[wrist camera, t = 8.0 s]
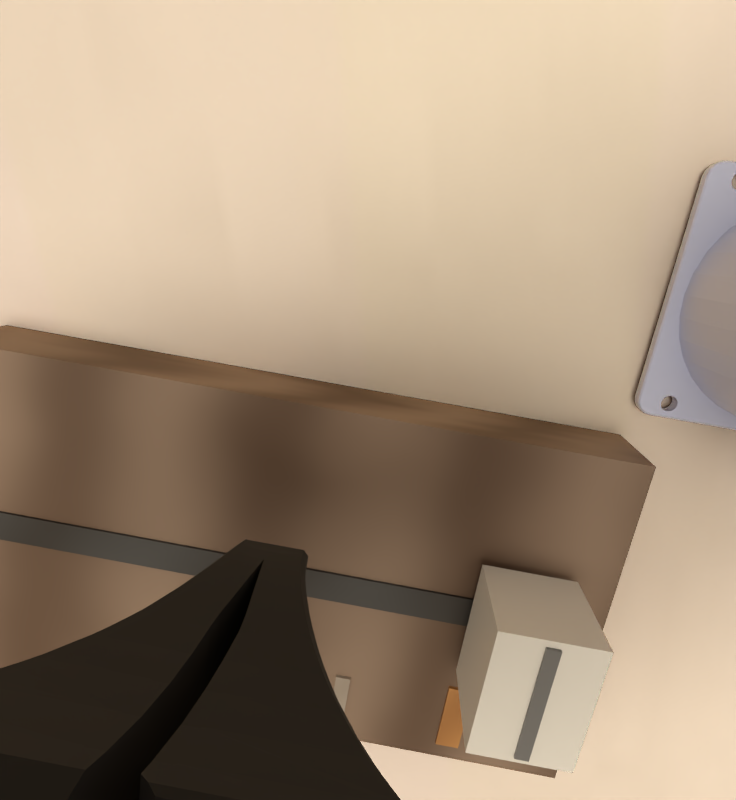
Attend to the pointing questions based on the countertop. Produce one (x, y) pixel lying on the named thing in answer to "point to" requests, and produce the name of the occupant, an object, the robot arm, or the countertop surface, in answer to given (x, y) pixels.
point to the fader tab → (530, 669)
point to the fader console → (293, 512)
